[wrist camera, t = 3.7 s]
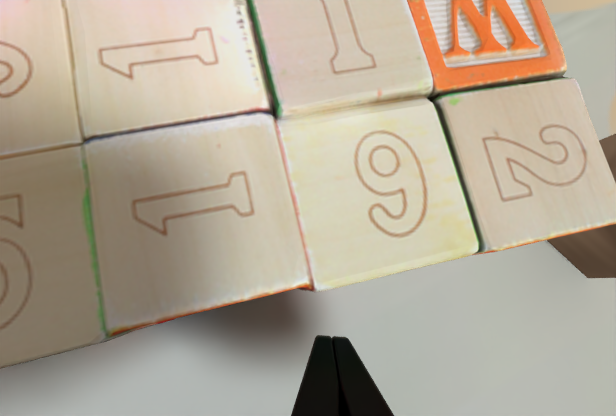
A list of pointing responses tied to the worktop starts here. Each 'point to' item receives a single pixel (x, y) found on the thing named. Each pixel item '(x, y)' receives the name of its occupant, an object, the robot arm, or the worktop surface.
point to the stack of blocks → (271, 152)
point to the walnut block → (593, 236)
